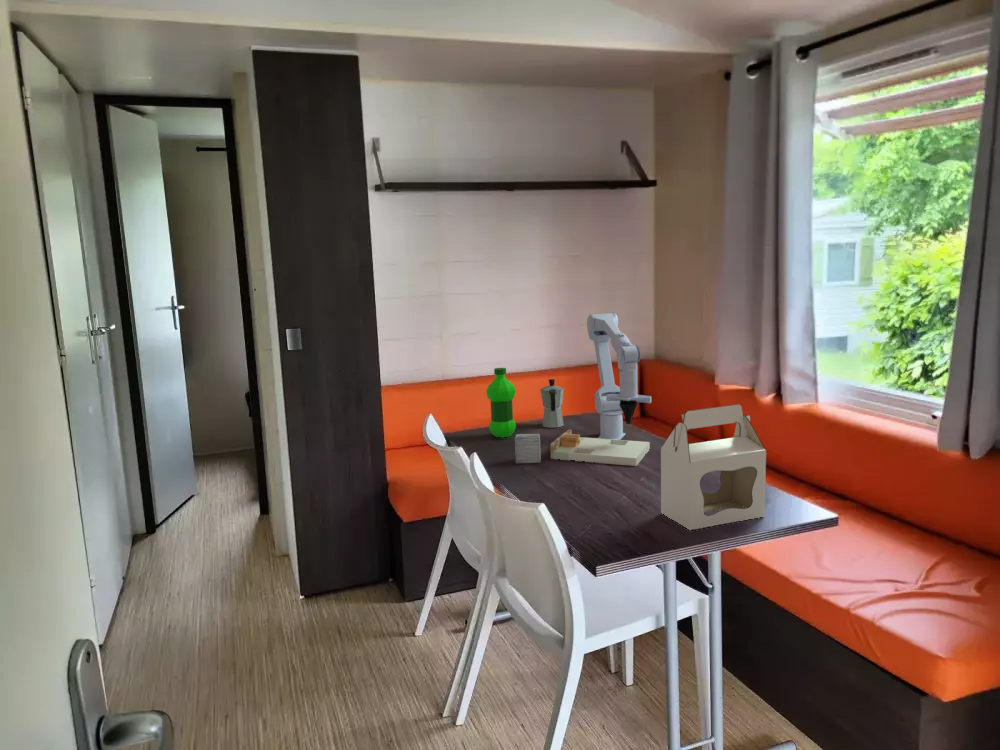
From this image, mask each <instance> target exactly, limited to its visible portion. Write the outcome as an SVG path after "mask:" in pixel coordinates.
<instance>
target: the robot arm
mask: <svg viewBox="0 0 1000 750" xmlns="http://www.w3.org/2000/svg"><path fill="white" fill-rule="evenodd" d="M586 328H587V333H588V338H589V340H591V341H593V345H594V351H595V356H596V361H597V368H598V373H599V380H600V387H599V388H598V389H597V390H596V392H595V393H594V407H595V410H596V412H597V413H598V414H599V417H600V418H599V420H600V423H599V425H600V430H599V431H600V435H598V437H597V438H599V439H613V440H623V438H624V437H625V435H626V432H624V424H623V423H624V421H623V419H625V424H626V425H631V424H632V423H633V418H634V413H635V411H636V408H637V406H638V404H639V403H647V404H651V403H652V396H651V395H643V394H638V391H639V390H638V363H640V360H641V350H640V348H639V345H637V344H632V343H631V340H630V339H629V338H628V336H627V334H625V333H624V332H621V331H620V329H619V317H618V315H617V314H616V312H611V313H610V312H609V313H608V312H607V313H595V314H594V313H593V314H592V313H589V315H588V316H587V319H586ZM609 341H610V345H611V347H612V348H613V350H614V352H615V353H616V354H615V355H616V361H617V367H618V368H617V369H618V370H619V386H618V385H616V383H615V376H614V370H613V365H612V364H613V363H612V357H611V353H610V352H611V351H610V345H609ZM622 414H623V415H622ZM623 416H624V418H623Z"/></svg>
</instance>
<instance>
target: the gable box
mask: <svg viewBox="0 0 1000 750" xmlns="http://www.w3.org/2000/svg"><path fill="white" fill-rule="evenodd" d="M680 417H681V421H682V422H678V423H677V424H675V425H674V429H673V430H672V432H671V433H670V435H669V436H668V438H667V439H666V441H665V442H664V443H663V445H662V446H661V448H660V514H661V513H662V514H661V515H663V514H664V515H665V516H664V515H663V516H664V517H666V516H667V517H668V518H667V517H666V518H667V519H669V518H670V519H669V520H671V519H672V520H674V521H676V522H678V523H679V524H681V525H683V526H684V527H686V528H687V529H689V530H692V529H698V528H703V527H707V526H714V525H719V524H724V523H730V522H736V521H743V520H748V519H753V520H755V519H754V518H758V519H760V518H759V517H764V516H766V515H765V514H766V510H765V509H766V476H767V475H766V473H767V472H766V470H767V469H766V468H767V467H766V466H767V449H766V448H765V445H764V444H763V443H762V441H761V438H760V437H759V435H758V433H757V432H756V430H755V428H754V426H753V424H752V422H751V416H750V415H749V414H748V415H745V414H743V408H742V405H740V404H737V403H736V404H730V405H722V406H715V407H714V406H713V407H706V408H700V409H699V408H698V409H693V410H686V411H685V412H684V413H682V414H680ZM728 424H736V425H735V430H734V433H733V437H727V438H721V439H714V440H707V441H700V442H694V443H689V435H688V431H689V430H690V431H691V430H692V429H698V428H699V429H700V428H705V427H706V428H708V427H713V426H720V425H728ZM717 471H721V472H720V475H719V481H720V488H719V489H718V491H716V492H708V491H702V489H701V479H702V477H703V476H704V475H706V474H707V473H710V472H717ZM732 500H733V501H732ZM743 506H744V507H743ZM720 507H721V508H722V509H723V510H722V509H721V508H720ZM745 507H746V508H745ZM725 508H726V509H725ZM709 509H710V510H711V511H712V509H714V510H715V509H717V510H718V512H717V513H715V514H713V515H710V516H706V515H704V512H706V511H707V510H708V511H710V510H709ZM719 509H721V511H719ZM708 511H707V512H708ZM711 511H710V512H711ZM715 511H716V510H715ZM764 518H765V517H764ZM672 520H671V521H672ZM674 521H673V522H674ZM748 521H749V520H748ZM743 522H744V521H743ZM679 524H678V525H679ZM687 529H686V530H687Z"/></svg>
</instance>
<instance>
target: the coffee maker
mask: <svg viewBox="0 0 1000 750" xmlns="http://www.w3.org/2000/svg"><path fill="white" fill-rule="evenodd" d="M555 382H556V380H555V379H554V378H551V379H548V383H549V384H548V385H547V386H543V387H541V388H540V394H541V395H540V396H541V401H542V406H543V407H544V409H543V417H542V425H543V426H542V428H543V427H549V428H550V427H561V426H564V427H565V424H564V418H563V412H562V405H563V401H564V392H565V391H564V390H565V388H564V387H561V386H559V385H555ZM561 428H562V427H561Z"/></svg>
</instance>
